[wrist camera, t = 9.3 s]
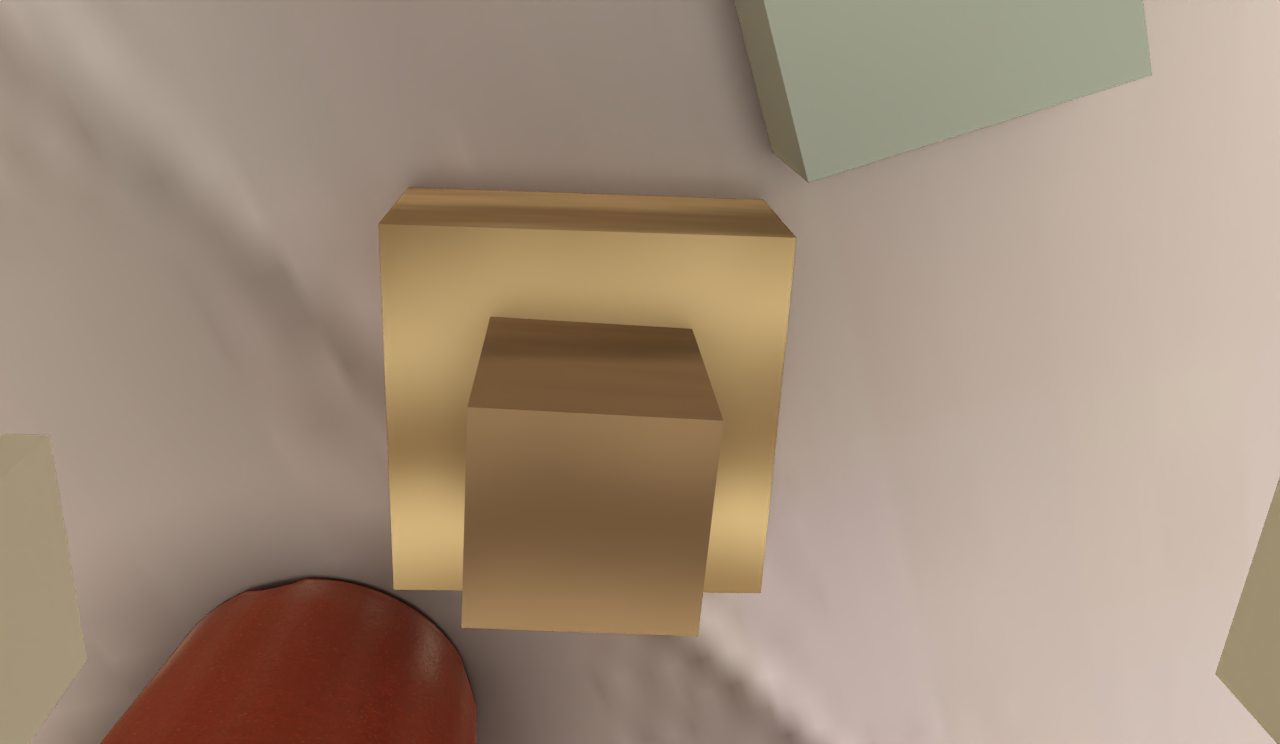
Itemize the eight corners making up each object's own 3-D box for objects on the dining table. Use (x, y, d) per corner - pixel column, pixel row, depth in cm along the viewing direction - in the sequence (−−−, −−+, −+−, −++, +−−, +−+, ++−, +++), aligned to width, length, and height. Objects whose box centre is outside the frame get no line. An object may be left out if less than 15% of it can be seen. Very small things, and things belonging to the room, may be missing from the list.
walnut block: (490, 316, 31) (467, 407, 24) (692, 328, 31) (723, 420, 25) (484, 498, 33) (461, 627, 26) (673, 507, 33) (697, 636, 27)
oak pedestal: (410, 185, 35) (378, 224, 29) (761, 197, 36) (796, 237, 30) (419, 502, 39) (393, 589, 34) (734, 507, 40) (760, 592, 34)
